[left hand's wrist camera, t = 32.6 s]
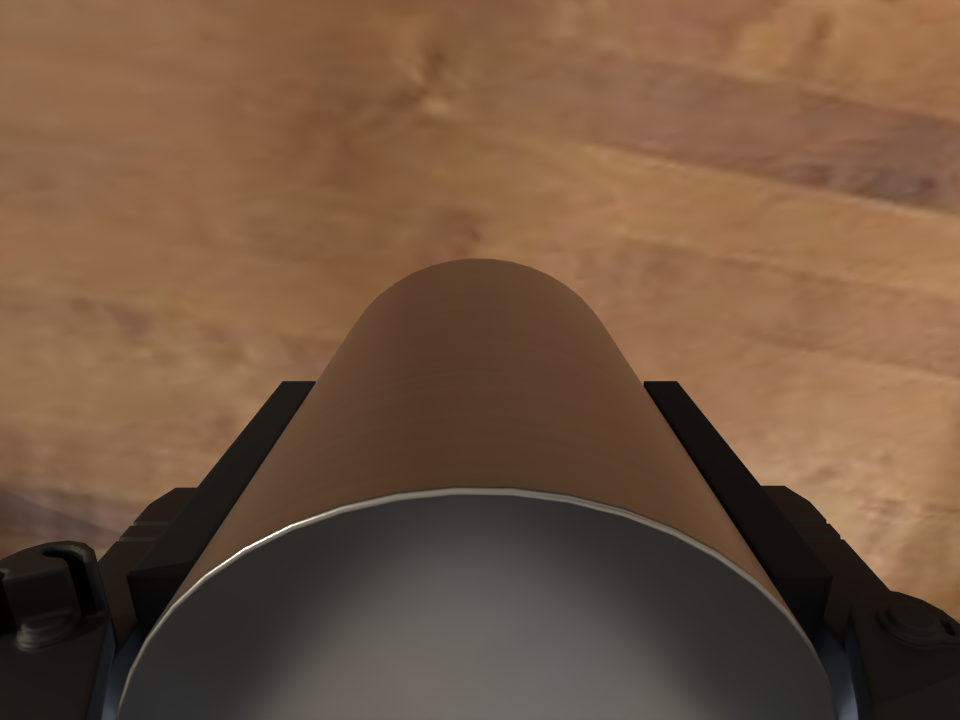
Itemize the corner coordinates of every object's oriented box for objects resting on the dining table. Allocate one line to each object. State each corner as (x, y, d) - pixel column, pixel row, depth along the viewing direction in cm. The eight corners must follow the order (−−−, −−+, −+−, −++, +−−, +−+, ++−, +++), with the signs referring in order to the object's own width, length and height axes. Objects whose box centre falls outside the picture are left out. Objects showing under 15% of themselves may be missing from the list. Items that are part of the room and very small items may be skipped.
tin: (598, 528, 17) (747, 1016, 8) (336, 510, 17) (153, 989, 8) (644, 270, 15) (951, 520, 5) (335, 246, 15) (56, 459, 5)
